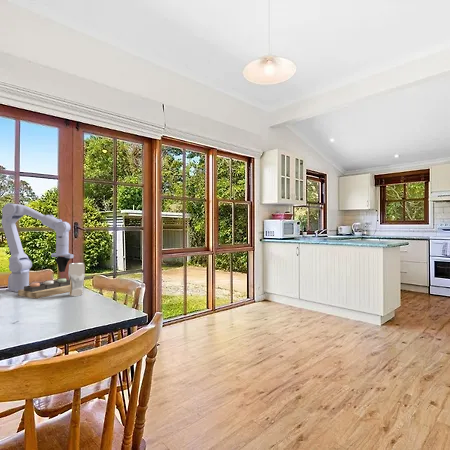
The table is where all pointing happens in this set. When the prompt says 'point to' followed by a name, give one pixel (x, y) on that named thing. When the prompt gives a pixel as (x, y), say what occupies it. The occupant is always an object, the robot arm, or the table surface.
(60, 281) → the button green
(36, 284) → the button terracotta
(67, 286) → the button panel
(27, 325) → the table surface
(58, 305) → the table surface
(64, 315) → the table surface
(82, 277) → the beer glass
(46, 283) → the button grey
